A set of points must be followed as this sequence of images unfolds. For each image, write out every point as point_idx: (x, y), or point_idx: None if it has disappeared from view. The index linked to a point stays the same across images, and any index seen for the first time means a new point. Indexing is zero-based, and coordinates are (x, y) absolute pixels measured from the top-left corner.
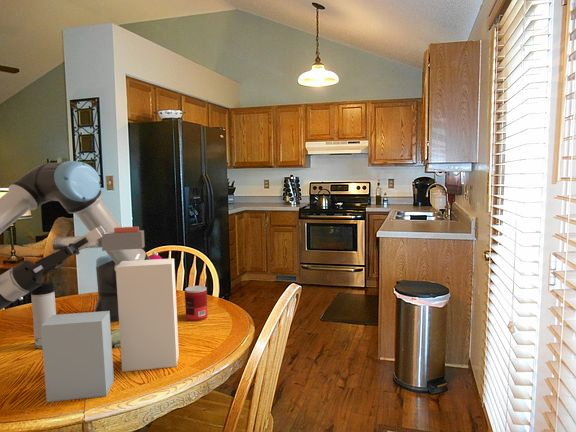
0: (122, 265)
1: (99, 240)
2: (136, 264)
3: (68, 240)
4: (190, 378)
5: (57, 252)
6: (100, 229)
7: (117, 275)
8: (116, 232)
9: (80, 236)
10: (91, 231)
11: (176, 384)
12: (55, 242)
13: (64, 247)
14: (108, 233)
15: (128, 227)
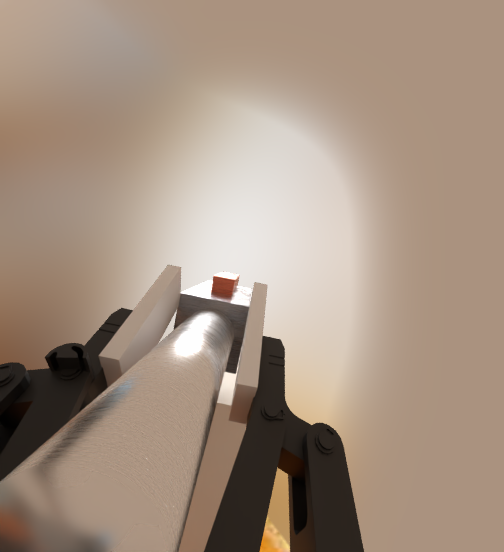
0: (231, 395)
1: (233, 334)
2: (231, 376)
3: (210, 396)
4: (267, 521)
5: (357, 548)
6: (176, 282)
7: (243, 433)
8: (232, 294)
9: (195, 337)
10: (264, 301)
11: (285, 548)
12: (181, 510)
13: (343, 453)
14: (244, 301)
15: (236, 276)
